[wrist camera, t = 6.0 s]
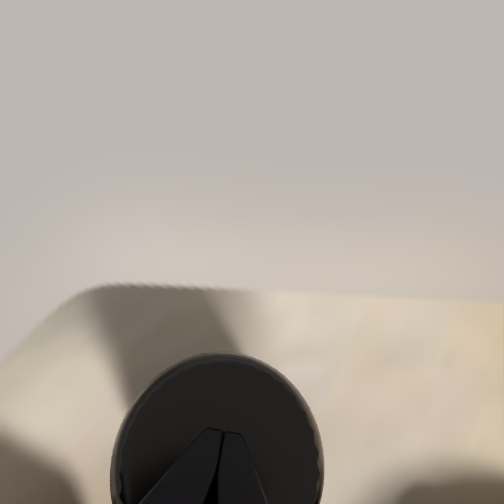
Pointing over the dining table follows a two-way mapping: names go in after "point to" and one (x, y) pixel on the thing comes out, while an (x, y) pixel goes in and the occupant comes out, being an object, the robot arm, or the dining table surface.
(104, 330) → the dining table surface
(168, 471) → the robot arm
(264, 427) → the supplement bottle
